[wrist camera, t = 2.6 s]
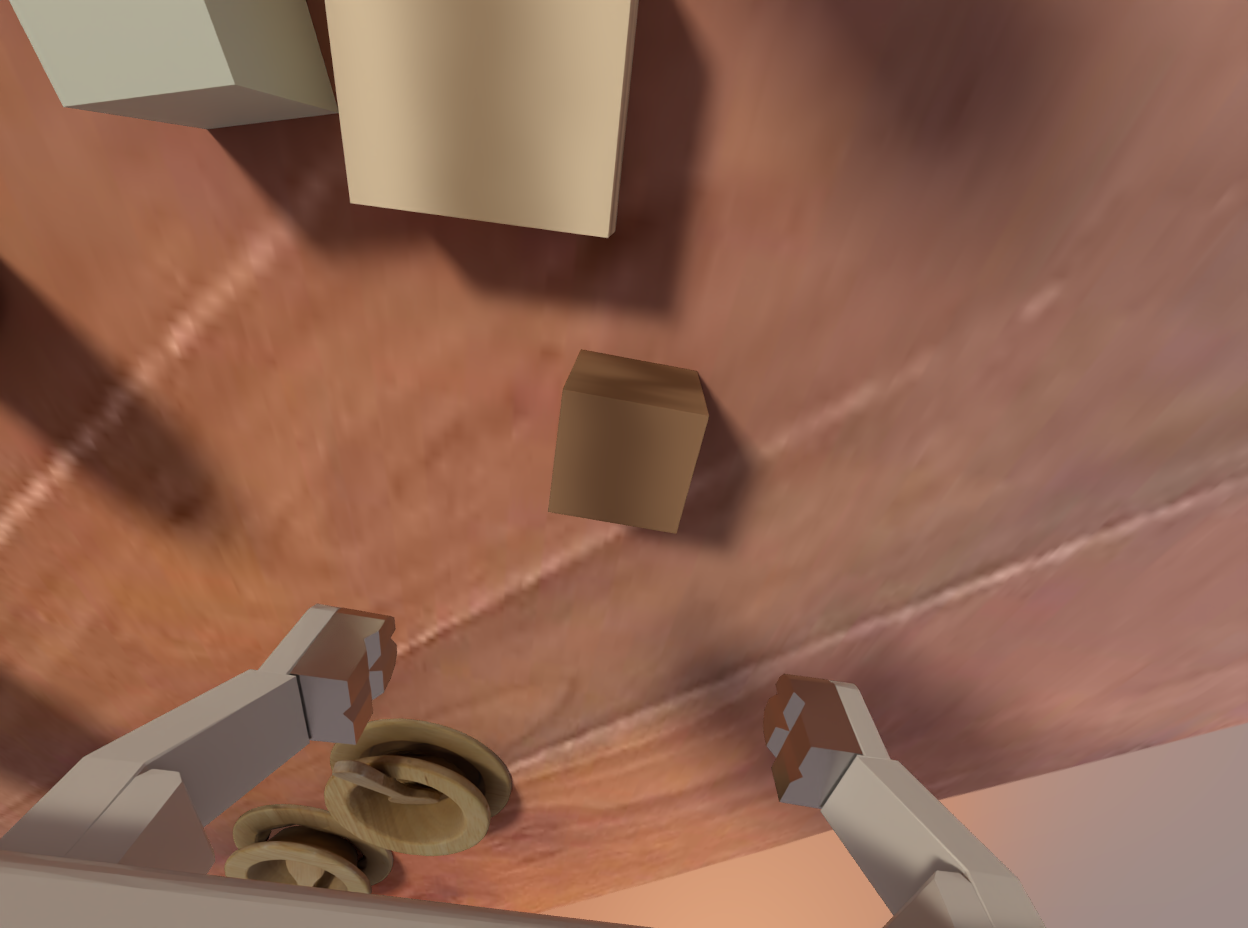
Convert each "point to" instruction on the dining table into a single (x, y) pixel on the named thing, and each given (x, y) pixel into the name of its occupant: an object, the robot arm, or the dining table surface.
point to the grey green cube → (182, 59)
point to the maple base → (486, 107)
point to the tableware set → (377, 809)
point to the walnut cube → (627, 441)
